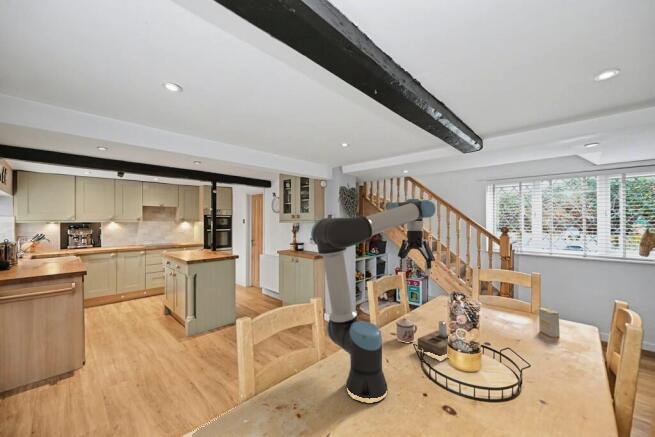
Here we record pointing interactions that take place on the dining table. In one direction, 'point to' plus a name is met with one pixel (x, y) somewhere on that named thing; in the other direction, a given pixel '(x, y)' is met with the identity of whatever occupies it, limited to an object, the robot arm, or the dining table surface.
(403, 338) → the teacup with lid
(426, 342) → the bore block
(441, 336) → the pin
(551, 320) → the supplement box
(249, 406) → the dining table surface
